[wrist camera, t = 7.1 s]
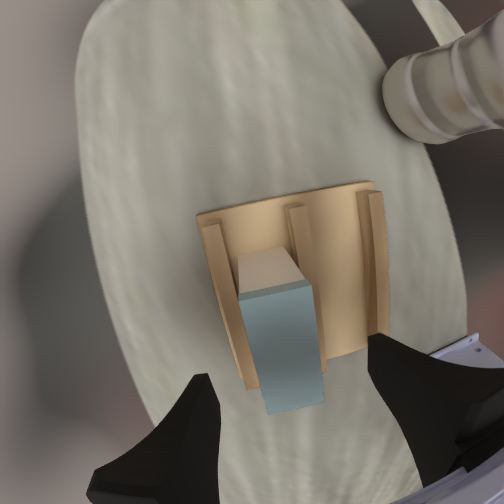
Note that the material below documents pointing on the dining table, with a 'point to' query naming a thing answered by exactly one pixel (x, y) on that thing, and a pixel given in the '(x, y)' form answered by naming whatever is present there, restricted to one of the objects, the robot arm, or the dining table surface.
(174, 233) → the dining table surface
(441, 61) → the plastic bottle
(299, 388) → the tall pale blue block
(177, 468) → the robot arm
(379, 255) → the rack
